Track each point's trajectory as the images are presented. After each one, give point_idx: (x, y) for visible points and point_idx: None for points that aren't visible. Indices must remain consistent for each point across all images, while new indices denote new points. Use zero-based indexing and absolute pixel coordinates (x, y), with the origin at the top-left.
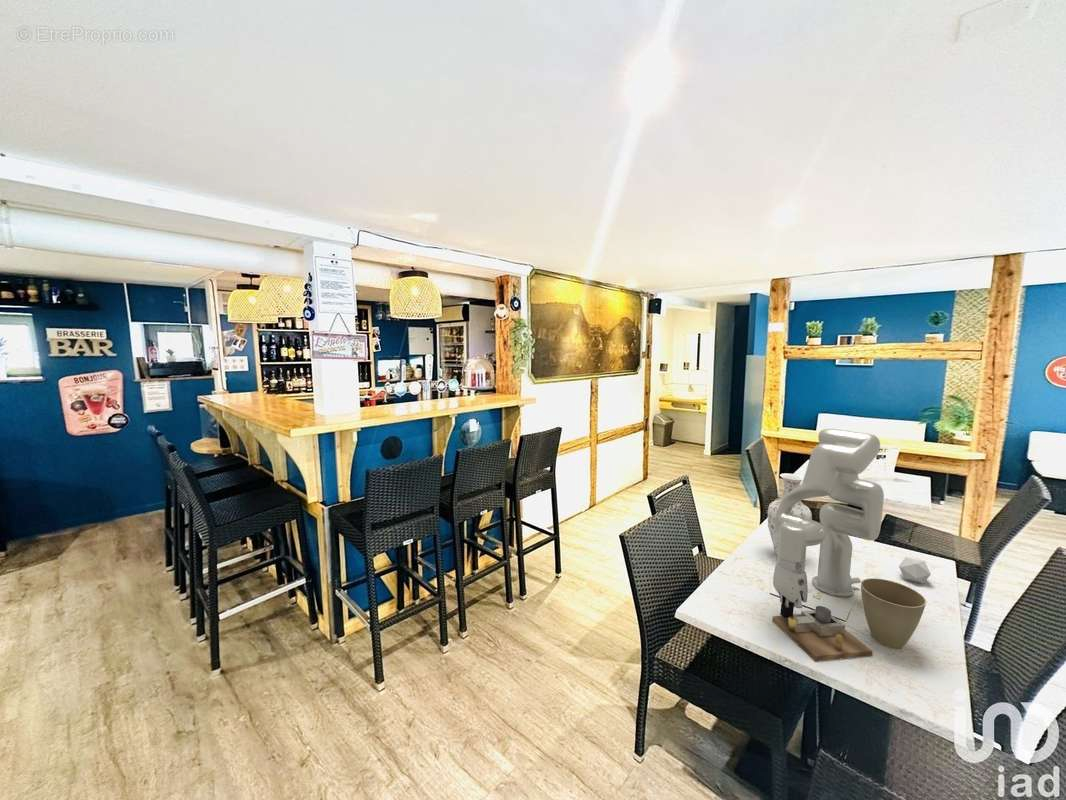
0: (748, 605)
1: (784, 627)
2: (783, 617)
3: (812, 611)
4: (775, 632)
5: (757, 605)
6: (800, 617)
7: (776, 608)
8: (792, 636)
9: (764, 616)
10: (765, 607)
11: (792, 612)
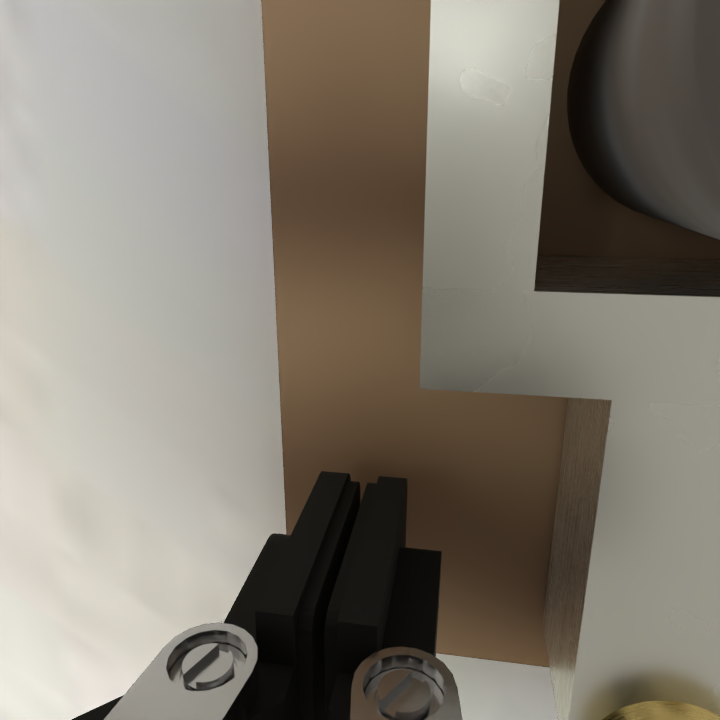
0: (22, 630)
1: (537, 664)
2: None
3: (477, 119)
4: (516, 705)
5: (15, 540)
6: (618, 572)
7: (63, 359)
8: None
9: (223, 612)
10: (49, 480)
11: (437, 597)
